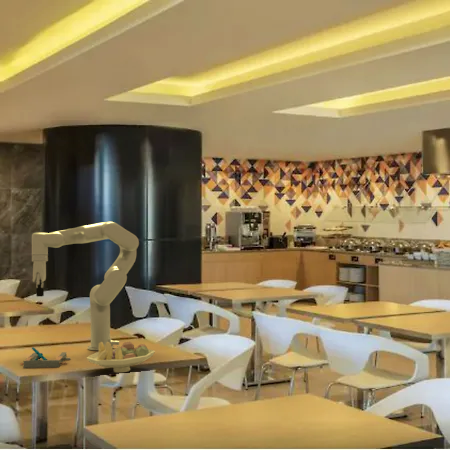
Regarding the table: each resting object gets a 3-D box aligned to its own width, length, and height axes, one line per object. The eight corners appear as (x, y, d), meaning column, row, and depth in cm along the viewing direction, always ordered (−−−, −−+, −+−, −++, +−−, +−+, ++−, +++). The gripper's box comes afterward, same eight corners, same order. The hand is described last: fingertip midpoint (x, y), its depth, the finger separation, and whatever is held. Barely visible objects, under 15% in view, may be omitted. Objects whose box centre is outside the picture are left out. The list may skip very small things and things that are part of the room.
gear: (49, 361, 328) (33, 346, 328) (40, 372, 327) (23, 356, 327) (51, 360, 339) (34, 345, 339) (41, 370, 338) (25, 355, 337)
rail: (71, 357, 349) (71, 350, 349) (64, 367, 325) (64, 360, 325) (28, 358, 347) (28, 351, 347) (17, 368, 323) (17, 361, 323)
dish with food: (80, 378, 302) (80, 342, 302) (94, 364, 330) (94, 332, 330) (149, 378, 301) (149, 342, 301) (158, 364, 329) (158, 332, 329)
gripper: (34, 257, 369) (34, 294, 369) (29, 259, 354) (29, 297, 354) (50, 257, 370) (50, 294, 370) (45, 258, 355) (45, 297, 355)
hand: (40, 296), depth 362 cm, fingers closed
